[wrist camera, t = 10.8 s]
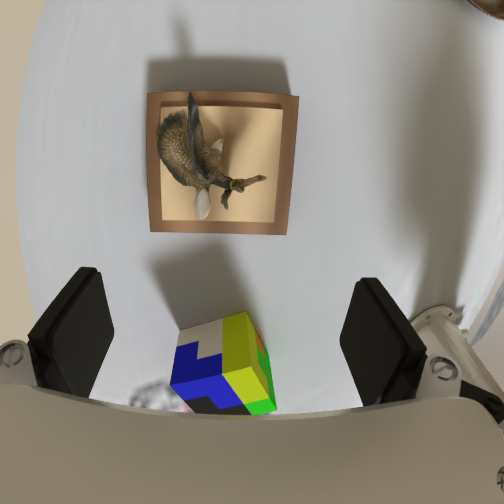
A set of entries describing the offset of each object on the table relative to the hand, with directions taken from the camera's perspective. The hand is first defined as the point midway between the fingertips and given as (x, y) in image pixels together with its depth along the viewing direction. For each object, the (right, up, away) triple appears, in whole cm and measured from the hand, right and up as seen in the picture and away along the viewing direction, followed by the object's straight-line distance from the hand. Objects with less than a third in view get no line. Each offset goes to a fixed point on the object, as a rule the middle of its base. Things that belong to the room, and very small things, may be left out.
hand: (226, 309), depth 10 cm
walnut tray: (-2, +12, +19) cm, 23 cm away
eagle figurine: (-4, +11, +15) cm, 19 cm away
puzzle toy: (-3, -11, +31) cm, 33 cm away
